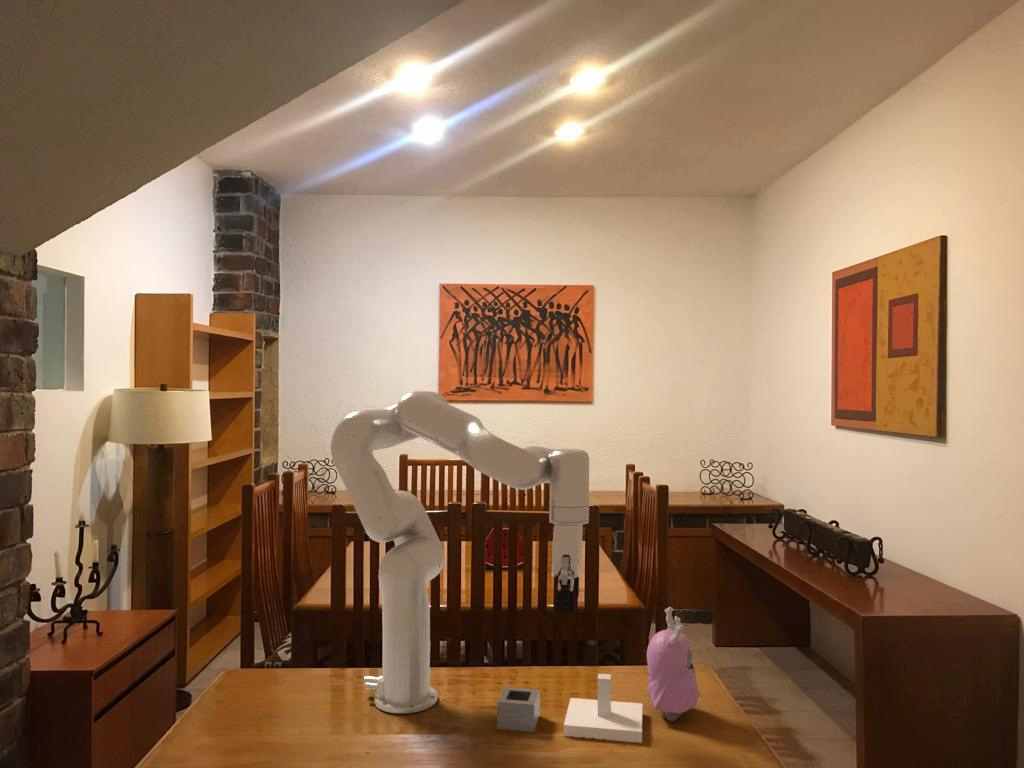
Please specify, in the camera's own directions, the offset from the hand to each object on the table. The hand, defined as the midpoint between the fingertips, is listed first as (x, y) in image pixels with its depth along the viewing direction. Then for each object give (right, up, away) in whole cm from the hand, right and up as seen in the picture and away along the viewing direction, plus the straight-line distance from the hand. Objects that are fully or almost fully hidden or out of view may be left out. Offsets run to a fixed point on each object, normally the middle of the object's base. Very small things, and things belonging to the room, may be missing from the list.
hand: (568, 604), depth 139 cm
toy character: (+21, -22, +3) cm, 31 cm away
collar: (-9, -22, -1) cm, 24 cm away
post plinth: (+7, -22, -2) cm, 23 cm away
